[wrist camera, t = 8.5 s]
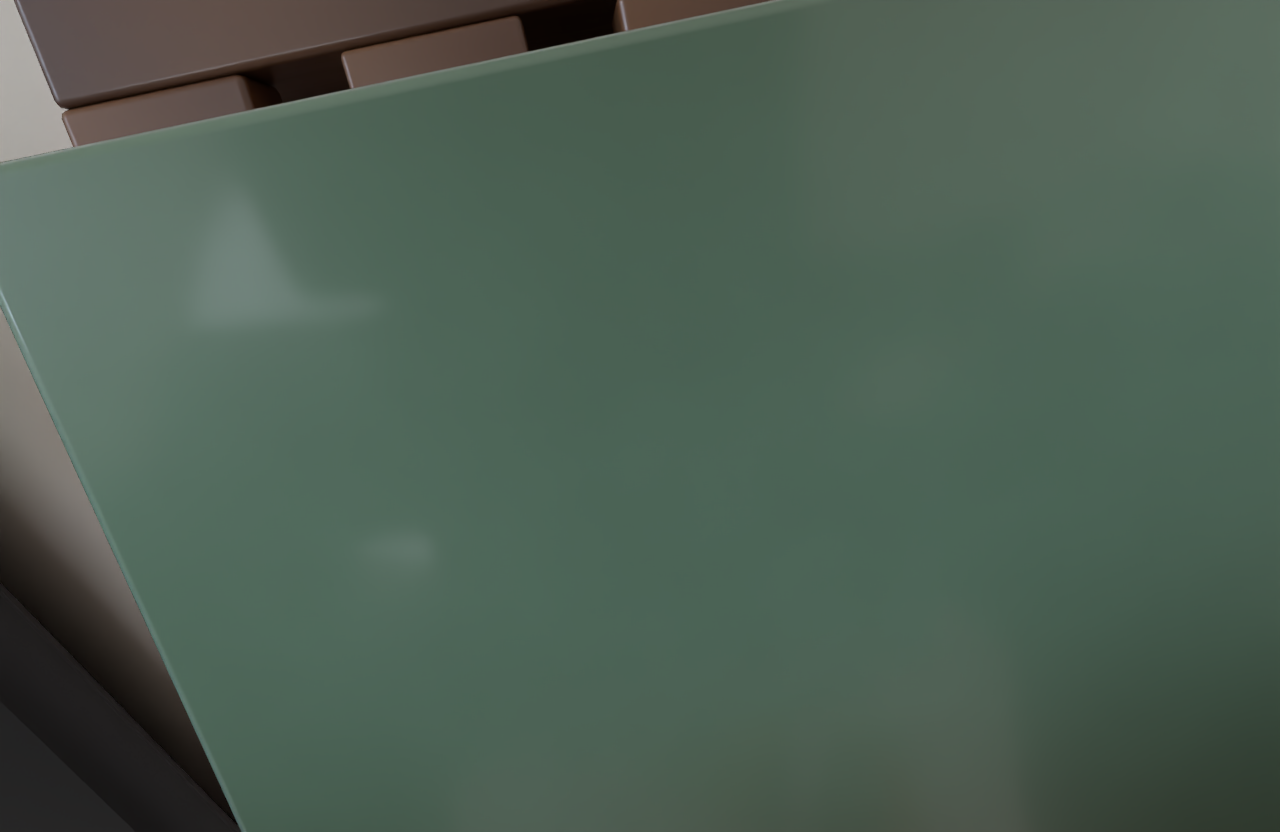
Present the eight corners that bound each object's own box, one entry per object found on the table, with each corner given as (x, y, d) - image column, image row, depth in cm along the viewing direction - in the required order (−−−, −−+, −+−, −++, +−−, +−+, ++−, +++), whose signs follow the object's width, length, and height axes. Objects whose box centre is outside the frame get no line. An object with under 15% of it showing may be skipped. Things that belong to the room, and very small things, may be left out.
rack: (859, -65, 12) (1055, -246, 7) (946, 750, 16) (1100, 975, 12) (234, 65, 12) (-4, -29, 7) (500, 858, 16) (471, 1134, 11)
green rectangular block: (979, 981, 10) (1250, 1498, 6) (600, 1075, 10) (620, 1668, 6) (888, 68, 6) (1347, -125, 3) (317, 190, 6) (-69, 173, 2)
